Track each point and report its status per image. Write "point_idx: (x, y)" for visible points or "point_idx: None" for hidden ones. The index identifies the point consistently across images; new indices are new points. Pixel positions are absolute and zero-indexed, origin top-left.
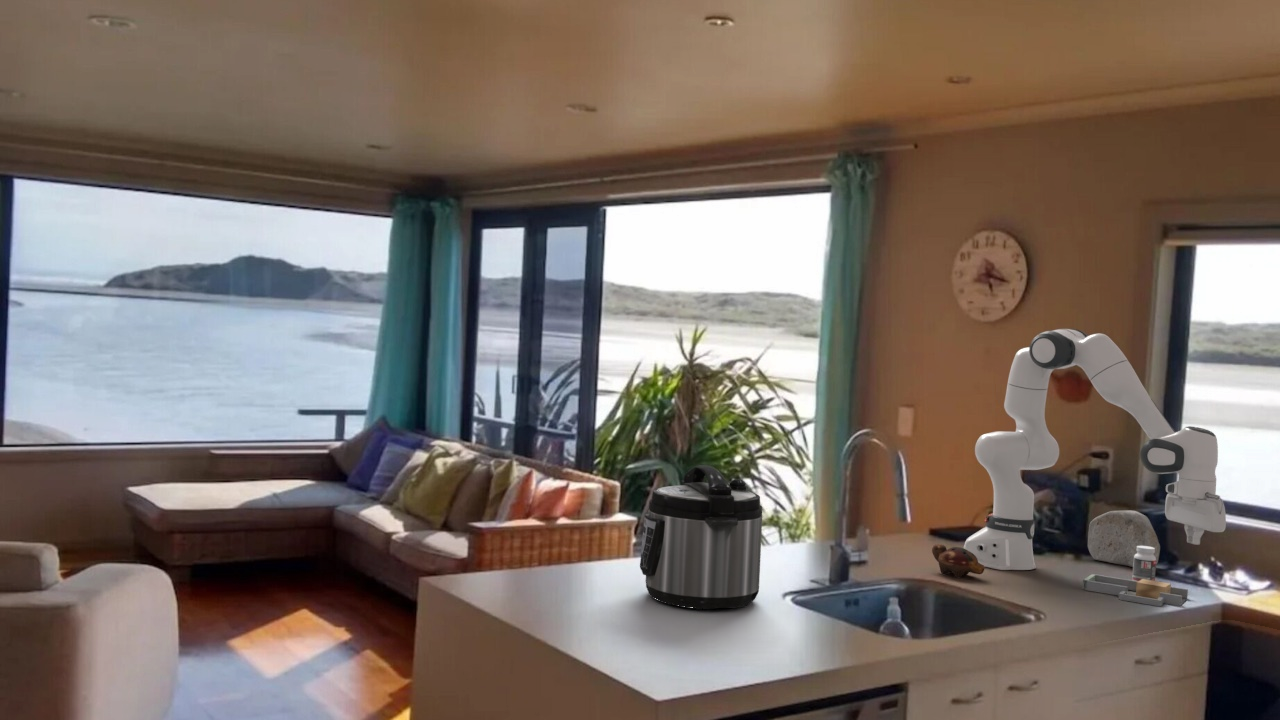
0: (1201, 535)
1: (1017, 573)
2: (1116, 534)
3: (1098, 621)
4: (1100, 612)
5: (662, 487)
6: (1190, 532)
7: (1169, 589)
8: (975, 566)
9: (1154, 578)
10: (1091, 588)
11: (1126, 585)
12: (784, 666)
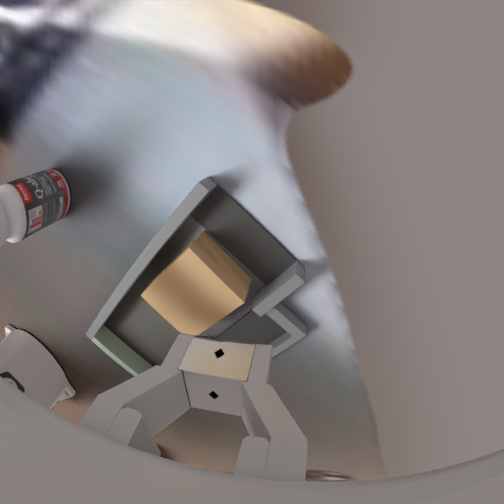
0: (284, 409)
1: (82, 386)
2: None
3: (374, 447)
4: (333, 433)
5: None
6: (160, 409)
7: (203, 250)
8: None
9: (54, 178)
10: None
11: (125, 294)
12: None
